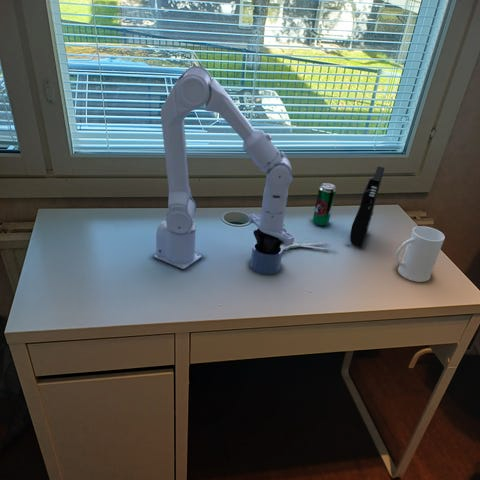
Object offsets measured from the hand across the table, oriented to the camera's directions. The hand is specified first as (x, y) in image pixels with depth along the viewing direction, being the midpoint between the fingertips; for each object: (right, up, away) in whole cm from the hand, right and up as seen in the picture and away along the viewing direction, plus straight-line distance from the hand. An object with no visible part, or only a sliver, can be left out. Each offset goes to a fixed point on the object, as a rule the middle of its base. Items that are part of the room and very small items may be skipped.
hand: (266, 258), depth 121 cm
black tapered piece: (+28, +8, +19) cm, 35 cm away
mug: (+38, -4, +6) cm, 39 cm away
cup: (0, -2, +1) cm, 2 cm away
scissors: (+9, +5, +11) cm, 15 cm away
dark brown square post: (0, -1, +1) cm, 1 cm away
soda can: (+18, +14, +25) cm, 34 cm away
